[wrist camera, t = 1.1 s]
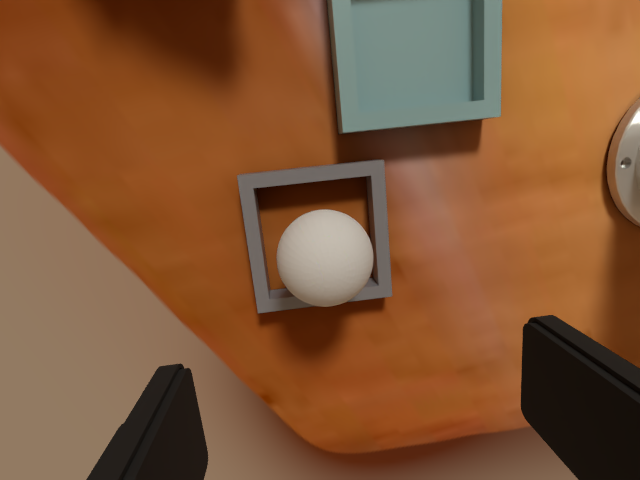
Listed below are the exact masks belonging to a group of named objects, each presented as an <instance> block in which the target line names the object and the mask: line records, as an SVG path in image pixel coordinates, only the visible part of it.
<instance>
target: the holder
mask: <svg viewBox="0 0 640 480" xmlns="http://www.w3.org/2000/svg"><path fill="white" fill-rule="evenodd" d="M362 176H366V184H367V198H368V212H369V226H370V240H371V244H372V249H373V278H369V279H368V282H367V283H366V285H365V286H364V288H363V289H362V290H361V291H360V292H359V293H358V294H357V295H356V296H355V297H353V298H352V299H350V300H349V301H347V302H352V301H359V300H367V299H375V298H383V297H391V296H392V285H391V268H390V252H389V235H388V218H387V202H386V185H385V169H384V160H379V159H377V160H368V161H358V162H349V163H340V164H330V165H321V166H312V167H302V168H293V169H284V170H274V171H265V172H256V173H246V174H240V175H238V176H237V179H238V185H239V192H240V198H241V205H242V212H243V218H244V225H245V231H246V238H247V244H248V251H249V258H250V264H251V271H252V277H253V284H254V290H255V297H256V304H257V310H258V313H265V312H273V311H281V310H288V309H296V308H304V307H312V306H315V305H311V304H308V303H306V302H303V301H302V300H300V299H298V298H297V297H296V296H294V295H293V294H292V293H291V292H290V291H289V290H288V289H287V288H285V289H277V290H270V283H269V276H268V269H267V261H266V254H265V247H264V240H263V233H262V226H261V219H260V212H259V205H258V198H257V191H256V188H262V187H271V186H280V185H289V184H298V183H307V182H316V181H326V180H335V179H344V178H353V177H362Z"/></svg>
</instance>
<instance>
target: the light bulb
mask: <svg viewBox="0 0 640 480" xmlns="http://www.w3.org/2000/svg"><path fill="white" fill-rule="evenodd" d="M277 267H278V271H279V275H280V277H281V279H282V281H283V283H284V284H285V286H286V287H287V289H288V290H289V291H290V292H291V293H292V294H293V295H294V296H296V297H297V298H298V299H300V300H302V301H303V302H306V303H308V304H311V305H315V306H322V307H328V306H335V305H339V304H342V303H345V302H347V301H349V300H350V299H352V298H353V297H355V296H356V295H357V294H358V293H359V292H360V291H361V290H362V289H363V288H364V286H365V285H366V283H367V282H368V279H369V277H370V275H371V272H372V268H373V249H372V244H371V242H370V239H369V237H368V235H367V233H366V231H365V230H364V229H363V228H362V226H361V225H360V224H359V223H358V222H357V221H356V220H354V219H353V218H351V217H350V216H348V215H346V214H344V213H341V212H338V211H334V210H316V211H312V212H309V213H306V214H304V215H302V216H300V217H299V218H297V219H296V220H295V221H293V222H292V223H291V224H290V225H289V226H288V228H287V229H286V230H285V232H284V233H283V235H282V237H281V239H280V242H279V245H278V249H277Z"/></svg>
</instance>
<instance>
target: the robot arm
mask: <svg viewBox="0 0 640 480" xmlns="http://www.w3.org/2000/svg"><path fill="white" fill-rule="evenodd" d="M607 181H608V186H609V190H610V193H611V196H612V198H613V200H614V202H615V204H616V206H617V208H618V209H619V210H620V212H621V213H622V214H623V215H624V216H625V217H626V218H627V219H628V220H630V221H631V222H632V223H634V224H635V225H638V226H640V98H639V99H638V100H637V101H636V102H635V103H634V104H633V105H632V106H631V107H630V109H629V110H628V111H627V113H626V114H625V116H624V117H623V119H622V120H621V122H620V124H619V126H618V128H617V130H616V132H615V134H614V136H613V139H612V142H611V146H610V149H609V153H608V161H607ZM521 410H522V413H523V415H524V417H525V419H526V420H527V422H528V423H529V424H530V425H531V426H532V427H533V428H534V429H535V431H536V432H537V433H538V434H539V435H540V436H541V437H542V439H543V440H544V441H545V442H546V443H547V444H548V445H549V446H550V448H551V449H552V450H553V451H554V452H555V453H556V455H557V456H558V457H559V458H560V459H561V460H562V461H563V462H564V464H565V465H566V466H567V467H568V468H569V469H570V470H571V472H572V473H574V475H575V476H576V477H577V478H578V479H579V480H640V369H639V368H638V367H636V366H635V365H633V364H631V363H630V362H628V361H627V360H625V359H623V358H622V357H620V356H618V355H617V354H615V353H614V352H612V351H610V350H609V349H607V348H606V347H604V346H602V345H601V344H599V343H598V342H596V341H594V340H593V339H591V338H589V337H588V336H586V335H585V334H583V333H581V332H580V331H578V330H577V329H575V328H573V327H572V326H570V325H568V324H567V323H565V322H564V321H562V320H560V319H559V318H557V317H556V316H553V315H548V316H540V317H533V318H530V319H529V321H528V323H527V324H525V325H524V327H523V347H522V381H521ZM207 464H208V451H207V446H206V441H205V436H204V431H203V426H202V421H201V417H200V412H199V407H198V402H197V397H196V392H195V387H194V382H193V377H192V373H191V370H190V369H189V368H186V369H184V367H183V365H182V364H175V365H167V366H160V367H159V368H158V369H157V370H156V372H155V374H154V375H153V377H152V379H151V380H150V382H149V384H148V385H147V387H146V388H145V390H144V391H143V393H142V395H141V396H140V398H139V400H138V401H137V403H136V405H135V406H134V408H133V410H132V411H131V413H130V414H129V416H128V418H127V419H126V421H125V423H124V424H122V425H121V426H120V427H119V428H118V430H117V431H116V433H115V435H114V436H113V438H112V440H111V441H110V443H109V444H108V446H107V448H106V449H105V451H104V452H103V454H102V456H101V457H100V459H99V460H98V462H97V464H96V465H95V467H94V468H93V470H92V472H91V473H90V475H89V476H88V478H87V480H204V476H205V472H206V469H207Z"/></svg>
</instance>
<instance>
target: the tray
mask: <svg viewBox="0 0 640 480" xmlns="http://www.w3.org/2000/svg"><path fill="white" fill-rule="evenodd" d="M327 8H328V20H329V31H330V43H331V54H332V66H333V77H334V89H335V100H336V112H337V123H338V134H346V133H356V132H366V131H375V130H385V129H395V128H405V127H414V126H424V125H434V124H443V123H453V122H463V121H473V120H482V119H488V118H494V117H500V116H501V50H502V0H327Z"/></svg>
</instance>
